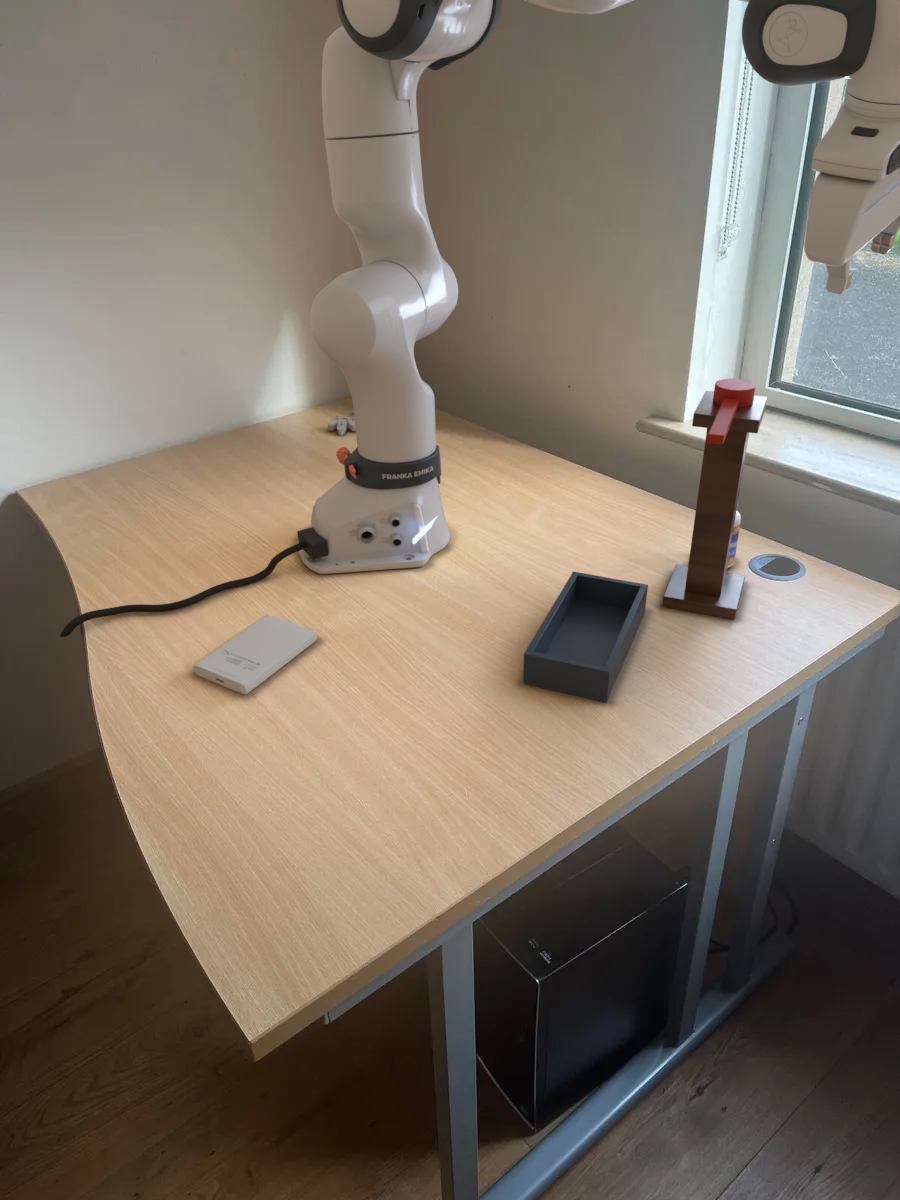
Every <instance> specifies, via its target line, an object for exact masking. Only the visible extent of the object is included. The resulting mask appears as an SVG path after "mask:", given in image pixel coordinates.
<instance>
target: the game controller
mask: <svg viewBox="0 0 900 1200" xmlns="http://www.w3.org/2000/svg"><path fill="white" fill-rule="evenodd" d="M351 415H353V416H354V412H350V413H349V416H340V417H339V415H336V416H335V417H333V418H331V419H329V421H328V422H327V428H328V431H334V430H337V435H338V436H343V435H344V434H345V433H346V432H347V430H348V428H349V429H350V431H352V432H356V427H355V418H354V417H351Z"/></svg>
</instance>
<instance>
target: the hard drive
mask: <svg viewBox="0 0 900 1200" xmlns="http://www.w3.org/2000/svg"><path fill="white" fill-rule="evenodd" d="M317 640H318V636H317V631H314V630H313V629H311V628H308V627H305V626H302V625H299V624H296V623H293V622H291V621H288V620H285V619H283V618H280V617H277V616H274V615H272V614H265V615H263V616H262V617H260V618H259V619H257V620H256V621H255V622H253V623H252V624H250V625H249V626H248V627H246V628H244V629H243V630H241V631H240V632H239V633H238V634H236V635H234V636H233V637H232V638H230V639H229V640H228V641H226V642H225V643H223V644H222V645H220V646H219V647H218V648H216V649H214V650H213V651H212V652H210V653H209V654H208V655H206V656H205V657H203V658H202V659H200V660H198V661H197V662H196V663H194V664H193V665H192V668H193V671H194V674H195V675H196V676H198V677H200V678H203V679H204V680H207V681H209V682H211V683H215V684H217V685H220V686H222V687H224V688H226V689H230V690H232V691H234V692H237V693H238V694H241V695H248V694H249V693H251V692H252V691H253V690H255V689H256V688H258V686H260V685H261V684H262V683H264V682H265V681H266V680H268V679H269V678H270V677H271V676H273V675H274V674H275V673H277V672H278V671H280V670H281V669H282V668H283V667H284V666H286V665H287V664H288V663H290V662H291V661H292V660H293V659H295V658H296V657H297V656H299V655H300V654H301V653H302V652H304V651H305V650H306V649H308V648H309V647H310V646H311V645H312V644H314V643H315V642H316V641H317Z"/></svg>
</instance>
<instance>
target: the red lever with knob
mask: <svg viewBox="0 0 900 1200" xmlns="http://www.w3.org/2000/svg"><path fill="white" fill-rule="evenodd" d="M713 391H714V396H713V401H714V402H715V403H716V404H718V405H721V407H720V409H719V411H718V413H717V415H716V418H715V420H714V422H713V424H712V426H711V429H710V431H709V433H708V437H707V443H712V444H721V445H723V443H724V440H725V438H726V435H727V433H728V430H729V428H730V425H731V423H732V420H733V418H734V416H735V413H736V411H737V408H739V407H747V406H750V405H752V403H753V400H754V396H755V393H756V384H755V383H754V382H752V381H750V380H747V379H743V378H742V379H741V378H723V379H719V380H716V382H715V384H714V390H713Z"/></svg>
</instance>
